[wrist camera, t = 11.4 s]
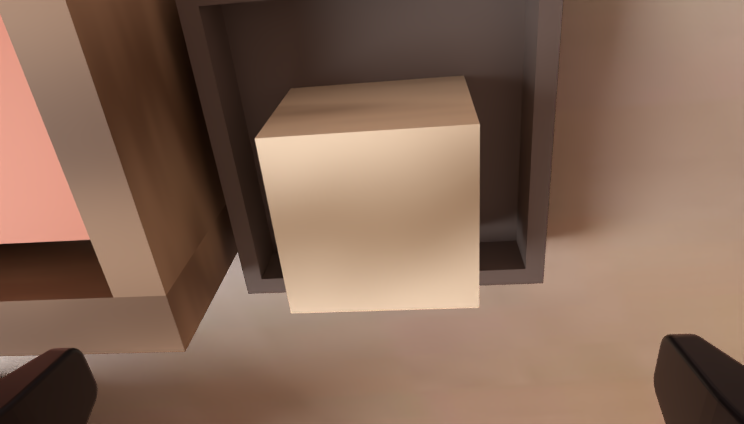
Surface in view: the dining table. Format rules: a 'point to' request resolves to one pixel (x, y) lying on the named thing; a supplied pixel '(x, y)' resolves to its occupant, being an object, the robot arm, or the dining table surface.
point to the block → (375, 195)
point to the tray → (377, 64)
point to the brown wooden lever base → (116, 183)
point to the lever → (30, 165)
